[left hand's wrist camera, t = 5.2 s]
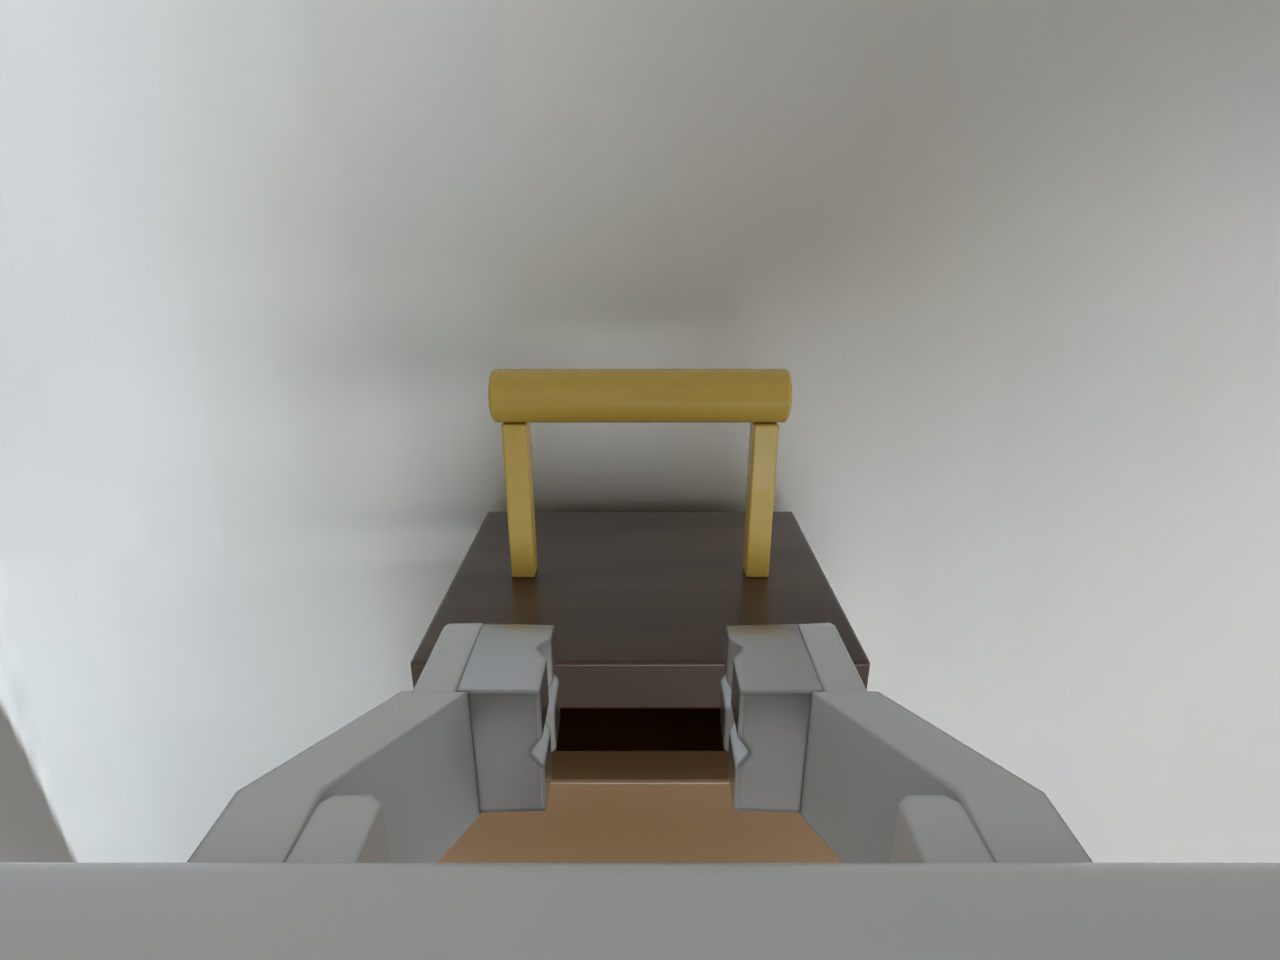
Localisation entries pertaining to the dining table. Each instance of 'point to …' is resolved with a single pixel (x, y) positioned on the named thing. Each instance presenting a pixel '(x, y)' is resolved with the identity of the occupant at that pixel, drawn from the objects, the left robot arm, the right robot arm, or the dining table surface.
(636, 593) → the drawer
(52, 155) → the dining table surface
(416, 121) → the dining table surface
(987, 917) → the left robot arm
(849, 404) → the dining table surface
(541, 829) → the open wooden box
